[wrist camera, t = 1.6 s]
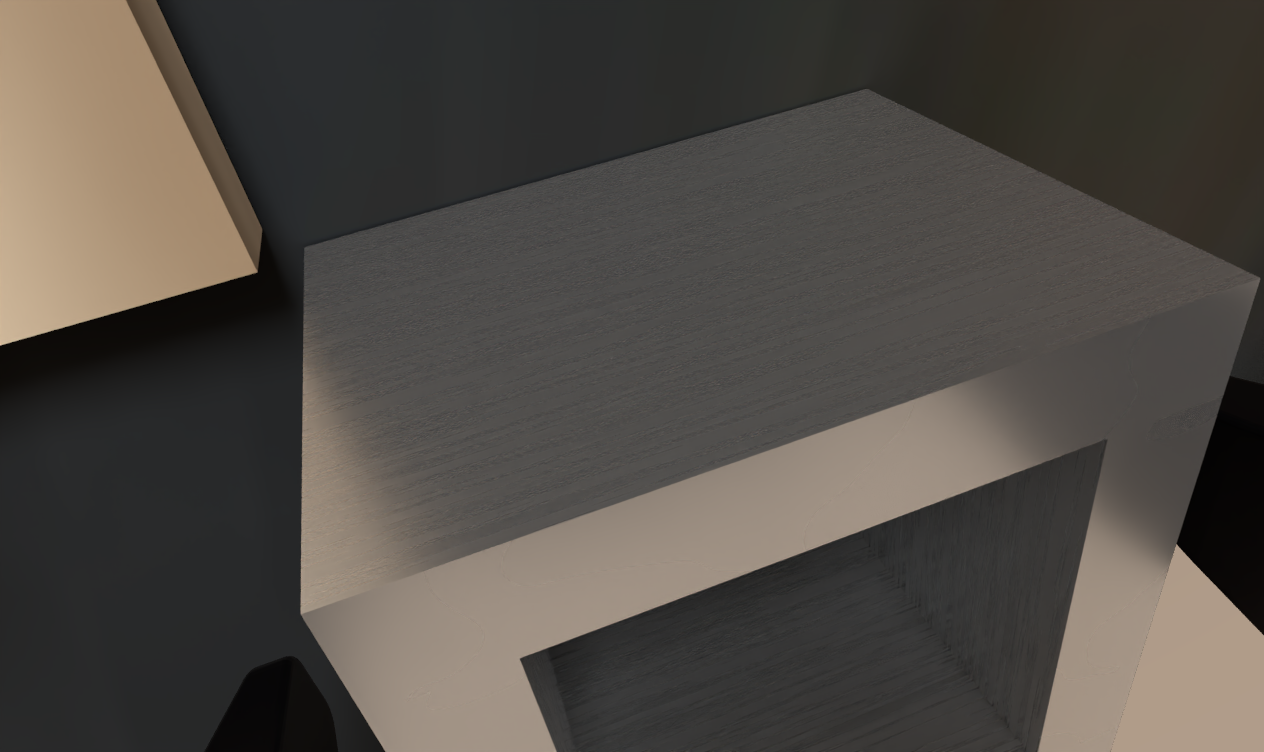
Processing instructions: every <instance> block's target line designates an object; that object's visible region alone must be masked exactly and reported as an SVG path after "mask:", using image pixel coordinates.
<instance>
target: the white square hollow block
mask: <svg viewBox="0 0 1264 752" xmlns="http://www.w3.org/2000/svg"><path fill="white" fill-rule="evenodd" d="M1259 281H1260V278H1259V277H1257V276H1255V275H1253V274H1251V273H1249V272H1247V271H1245V270H1242V269H1240V268H1238V267H1236V266H1234V265H1232V264H1230V263H1228V262H1226V261H1224V260H1222V259H1220V258H1217V257H1215V256H1213V255H1211V254H1209V253H1207V252H1205V251H1203V250H1201V249H1199V248H1197V247H1195V246H1193V245H1190V244H1188V243H1186V242H1184V241H1182V240H1180V239H1178V238H1176V237H1174V236H1172V235H1170V234H1168V233H1166V232H1163V231H1161V230H1159V229H1157V228H1155V227H1153V226H1151V225H1149V224H1147V223H1145V222H1143V221H1141V220H1138V219H1136V218H1134V217H1132V216H1130V215H1128V214H1126V213H1124V212H1122V211H1120V210H1118V209H1116V208H1114V207H1111V206H1109V205H1107V204H1105V203H1103V202H1101V201H1099V200H1097V199H1095V198H1093V197H1091V196H1089V195H1087V194H1084V193H1082V192H1080V191H1078V190H1076V189H1074V188H1072V187H1070V186H1068V185H1066V184H1064V183H1062V182H1060V181H1057V180H1055V179H1053V178H1051V177H1049V176H1047V175H1045V174H1043V173H1041V172H1039V171H1037V170H1035V169H1032V168H1030V167H1028V166H1026V165H1024V164H1022V163H1020V162H1018V161H1016V160H1014V159H1012V158H1010V157H1008V156H1005V155H1003V154H1001V153H999V152H997V151H995V150H993V149H991V148H989V147H987V146H985V145H983V144H981V143H978V142H976V141H974V140H972V139H970V138H968V137H966V136H964V135H962V134H960V133H958V132H956V131H953V130H951V129H949V128H947V127H945V126H943V125H941V124H939V123H937V122H935V121H933V120H931V119H929V118H926V117H924V116H922V115H920V114H918V113H916V112H914V111H912V110H910V109H908V108H906V107H904V106H902V105H899V104H897V103H895V102H893V101H891V100H889V99H887V98H885V97H883V96H881V95H879V94H877V93H875V92H872V91H870V90H868V89H864V90H861V91H857V92H854V93H850V94H847V95H843V96H839V97H836V98H832V99H829V100H825V101H822V102H818V103H815V104H811V105H808V106H804V107H800V108H797V109H793V110H790V111H786V112H783V113H779V114H776V115H772V116H768V117H765V118H761V119H758V120H754V121H751V122H747V123H744V124H740V125H737V126H733V127H729V128H726V129H722V130H719V131H715V132H712V133H708V134H705V135H701V136H698V137H694V138H690V139H687V140H683V141H680V142H676V143H673V144H669V145H666V146H662V147H659V148H655V149H651V150H648V151H644V152H641V153H637V154H634V155H630V156H627V157H623V158H620V159H616V160H612V161H609V162H605V163H602V164H598V165H595V166H591V167H588V168H584V169H580V170H577V171H573V172H570V173H566V174H563V175H559V176H556V177H552V178H549V179H545V180H541V181H538V182H534V183H531V184H527V185H524V186H520V187H517V188H513V189H510V190H506V191H502V192H499V193H495V194H492V195H488V196H485V197H481V198H478V199H474V200H471V201H467V202H463V203H460V204H456V205H453V206H449V207H446V208H442V209H439V210H435V211H432V212H428V213H424V214H421V215H417V216H414V217H410V218H407V219H403V220H400V221H396V222H392V223H389V224H385V225H382V226H378V227H375V228H371V229H368V230H364V231H361V232H357V233H353V234H350V235H346V236H343V237H339V238H336V239H332V240H329V241H325V242H322V243H318V244H314V245H311V246H307V247H304V334H303V434H302V534H301V616H302V617H303V619H304V620H305V622H306V624H307V625H308V627H309V629H310V630H311V632H312V633H313V635H314V637H315V638H316V640H317V642H318V643H319V645H320V646H321V648H322V650H323V651H324V653H325V654H326V656H327V658H328V659H329V661H330V663H331V664H332V666H333V667H334V669H335V671H336V672H337V674H338V675H339V677H340V679H341V680H342V682H343V684H344V685H345V687H346V688H347V690H348V692H349V693H350V695H351V697H352V698H353V700H354V701H355V703H356V705H357V706H358V708H359V709H360V711H361V713H362V714H363V716H364V718H365V719H366V721H367V722H368V724H369V726H370V727H371V729H372V731H373V732H374V734H375V735H376V737H377V739H378V740H379V742H380V743H381V745H382V747H383V748H384V750H385V752H1111V749H1112V745H1113V742H1114V739H1115V736H1116V733H1117V730H1118V726H1119V723H1120V720H1121V717H1122V713H1123V711H1124V707H1125V704H1126V701H1127V698H1128V695H1129V692H1130V689H1131V685H1132V682H1133V679H1134V676H1135V673H1136V669H1137V666H1138V663H1139V660H1140V657H1141V654H1142V651H1143V648H1144V644H1145V641H1146V638H1147V635H1148V631H1149V629H1150V625H1151V622H1152V619H1153V616H1154V612H1155V610H1156V606H1157V603H1158V600H1159V597H1160V594H1161V590H1162V587H1163V584H1164V581H1165V578H1166V575H1167V572H1168V568H1169V565H1170V562H1171V559H1172V556H1173V553H1174V550H1175V547H1176V543H1177V540H1178V537H1179V534H1180V531H1181V528H1182V524H1183V521H1184V518H1185V515H1186V512H1187V509H1188V505H1189V502H1190V499H1191V496H1192V493H1193V490H1194V487H1195V483H1196V480H1197V477H1198V474H1199V471H1200V468H1201V464H1202V461H1203V458H1204V455H1205V452H1206V449H1207V446H1208V442H1209V439H1210V436H1211V433H1212V430H1213V427H1214V423H1215V420H1216V417H1217V414H1218V411H1219V408H1220V404H1221V401H1222V398H1223V395H1224V392H1225V389H1226V386H1227V382H1228V379H1229V376H1230V373H1231V370H1232V367H1233V363H1234V360H1235V357H1236V354H1237V351H1238V348H1239V344H1240V341H1241V338H1242V335H1243V332H1244V329H1245V326H1246V322H1247V319H1248V316H1249V313H1250V310H1251V307H1252V303H1253V300H1254V297H1255V294H1256V291H1257V288H1258V285H1259Z"/></svg>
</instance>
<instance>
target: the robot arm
mask: <svg viewBox="0 0 1264 752" xmlns="http://www.w3.org/2000/svg"><path fill="white" fill-rule="evenodd" d="M1176 544H1177V545H1178V546H1179V547H1180V548H1181V550H1182V551H1183V552H1184V553H1185V554H1186V555H1187V556H1188V557H1189V558H1190V559H1191V560H1192V562H1193V563H1194V564H1195V565H1196V566H1197V567H1198V568H1199V569H1200V570H1201V571H1202V572H1203V573H1204V574H1205V575H1206V576H1207V577H1208V578H1209V579H1210V580H1211V581H1212V582H1213V583H1214V584H1215V585H1216V586H1217V587H1218V588H1219V589H1220V590H1221V591H1222V593H1224V595H1225V596H1226V597H1227V598H1228V599H1229V600H1230V601H1231V602H1232V603H1233V604H1234V605H1235V606H1236V607H1237V608H1238V609H1239V610H1240V611H1241V612H1242V613H1243V614H1244V615H1245V616H1246V617H1247V618H1248V620H1249V621H1251V623H1252V624H1253V625H1254V626H1255V627H1256V628H1257V629H1258V630H1259V631H1260V632H1261V633H1262V634H1263V635H1264V384H1260V383H1256V382H1252V381H1247V380H1243V379H1239V378H1235V377H1231V376H1229V379H1228V382H1227V386H1226V389H1225V392H1224V395H1223V398H1222V401H1221V404H1220V408H1219V411H1218V414H1217V417H1216V420H1215V423H1214V427H1213V430H1212V433H1211V436H1210V439H1209V442H1208V446H1207V449H1206V452H1205V455H1204V458H1203V461H1202V464H1201V468H1200V471H1199V474H1198V477H1197V480H1196V483H1195V487H1194V490H1193V493H1192V496H1191V499H1190V502H1189V505H1188V509H1187V512H1186V515H1185V518H1184V521H1183V524H1182V528H1181V531H1180V534H1179V537H1178V540H1177V543H1176ZM205 752H338V747H337V740H336V733H335V727H334V721H333V717H332V714H331V711H330V708H329V706H328V704H327V702H326V700H325V698H324V697H323V695H322V694H321V692H320V691H319V689H318V688H317V686H316V685H315V683H314V682H313V680H312V679H311V677H310V676H309V674H308V672H307V671H306V669H305V668H304V666H303V665H302V663H301V662H300V661H299V660H298V659H297V658H295V657H293V656H286V657H283V658H281V659H278V660H275V661H272V662H269V663H267V664H264V665H261V666H258V667H256V668H254V669H252V670H251V671H250V672H249V673H248V674H247V675H246V677H245V678H244V680H243V682H242V684H241V685H240V687H239V689H238V691H237V693H236V695H235V696H234V698H233V700H232V702H231V704H230V706H229V707H228V709H227V711H226V713H225V715H224V717H223V719H222V720H221V722H220V724H219V726H218V728H217V730H216V731H215V733H214V735H213V737H212V739H211V741H210V742H209V744H208V746H207V748H206V750H205Z"/></svg>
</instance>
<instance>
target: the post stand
mask: <svg viewBox="0 0 1264 752" xmlns="http://www.w3.org/2000/svg"><path fill="white" fill-rule="evenodd" d="M261 237H262V227H261V225H260V223H259V221H258V219H257V217H256V215H255V212H254V210H253V208H252V206H251V204H250V202H249V199H248V197H247V195H246V193H245V191H244V189H243V187H242V184H241V182H240V180H239V178H238V176H237V174H236V171H235V169H234V167H233V165H232V163H231V161H230V159H229V156H228V154H227V152H226V150H225V148H224V146H223V143H222V141H221V139H220V137H219V135H218V133H217V131H216V128H215V126H214V124H213V122H212V120H211V118H210V115H209V113H208V111H207V109H206V107H205V105H204V103H203V100H202V98H201V96H200V94H199V92H198V90H197V87H196V85H195V83H194V81H193V79H192V77H191V75H190V72H189V70H188V68H187V66H186V64H185V62H184V59H183V57H182V55H181V53H180V51H179V49H178V47H177V44H176V42H175V40H174V38H173V36H172V34H171V31H170V29H169V27H168V25H167V23H166V21H165V19H164V16H163V14H162V12H161V10H160V8H159V6H158V3H157V1H156V0H0V345H3V344H7V343H11V342H14V341H18V340H21V339H25V338H28V337H32V336H35V335H39V334H42V333H46V332H49V331H53V330H56V329H60V328H63V327H67V326H70V325H74V324H77V323H81V322H84V321H88V320H91V319H95V318H99V317H102V316H106V315H109V314H113V313H116V312H120V311H123V310H127V309H130V308H134V307H137V306H141V305H144V304H148V303H151V302H155V301H158V300H162V299H165V298H169V297H172V296H176V295H179V294H183V293H187V292H190V291H194V290H197V289H201V288H204V287H208V286H211V285H215V284H218V283H222V282H225V281H229V280H232V279H236V278H239V277H243V276H246V275H250V274H253V273H257V272H258V264H259V255H260V246H261Z"/></svg>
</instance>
